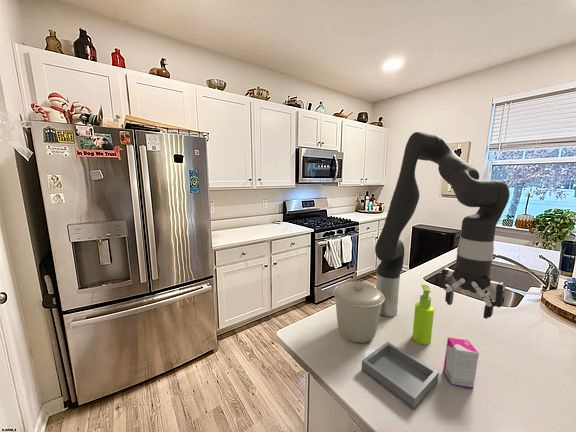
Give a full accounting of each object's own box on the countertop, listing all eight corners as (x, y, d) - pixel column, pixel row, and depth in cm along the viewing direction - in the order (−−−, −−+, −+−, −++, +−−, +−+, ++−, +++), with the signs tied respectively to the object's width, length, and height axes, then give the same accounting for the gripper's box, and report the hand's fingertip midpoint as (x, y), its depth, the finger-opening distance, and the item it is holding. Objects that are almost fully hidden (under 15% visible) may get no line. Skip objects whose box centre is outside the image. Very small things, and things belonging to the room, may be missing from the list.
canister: (389, 332, 92) (393, 281, 88) (368, 359, 79) (372, 299, 75) (346, 314, 104) (349, 268, 100) (322, 334, 91) (324, 282, 87)
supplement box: (474, 389, 67) (479, 353, 65) (450, 385, 68) (455, 350, 67) (463, 373, 73) (468, 339, 71) (442, 370, 74) (446, 336, 72)
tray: (361, 370, 74) (362, 360, 73) (386, 350, 82) (387, 341, 82) (413, 410, 61) (415, 398, 61) (437, 382, 70) (438, 372, 69)
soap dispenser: (428, 334, 91) (433, 284, 87) (432, 346, 84) (438, 293, 81) (410, 331, 93) (415, 282, 89) (413, 342, 86) (418, 290, 83)
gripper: (513, 259, 61) (503, 317, 64) (449, 246, 72) (444, 296, 75) (505, 265, 56) (495, 328, 59) (439, 250, 68) (433, 303, 70)
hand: (466, 310), depth 67 cm, fingers open, 8 cm apart
